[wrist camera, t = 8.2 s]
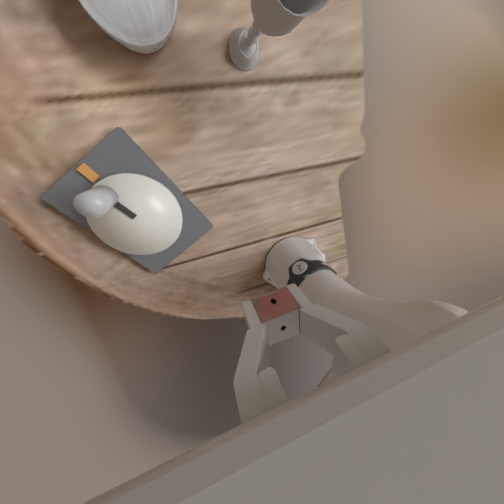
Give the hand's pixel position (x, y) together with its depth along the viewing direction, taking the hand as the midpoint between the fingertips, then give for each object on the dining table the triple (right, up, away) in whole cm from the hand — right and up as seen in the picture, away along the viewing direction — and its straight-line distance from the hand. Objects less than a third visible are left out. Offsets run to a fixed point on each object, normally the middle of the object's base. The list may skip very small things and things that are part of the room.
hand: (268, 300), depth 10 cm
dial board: (-23, +11, +27) cm, 37 cm away
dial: (-22, +9, +25) cm, 34 cm away
